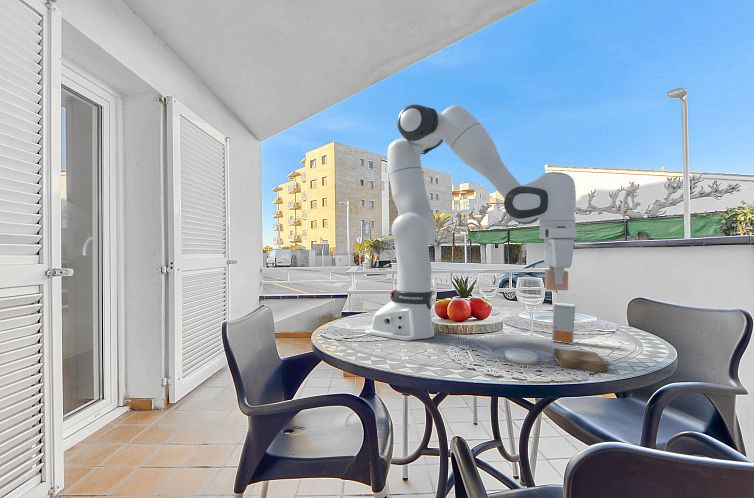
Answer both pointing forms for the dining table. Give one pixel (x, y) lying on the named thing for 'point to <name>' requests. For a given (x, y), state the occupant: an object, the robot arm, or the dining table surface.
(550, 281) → the terracotta cube
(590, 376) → the dining table surface
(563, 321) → the skincare box
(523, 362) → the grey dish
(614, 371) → the dining table surface
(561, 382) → the dining table surface
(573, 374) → the dining table surface
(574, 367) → the walnut coaster
